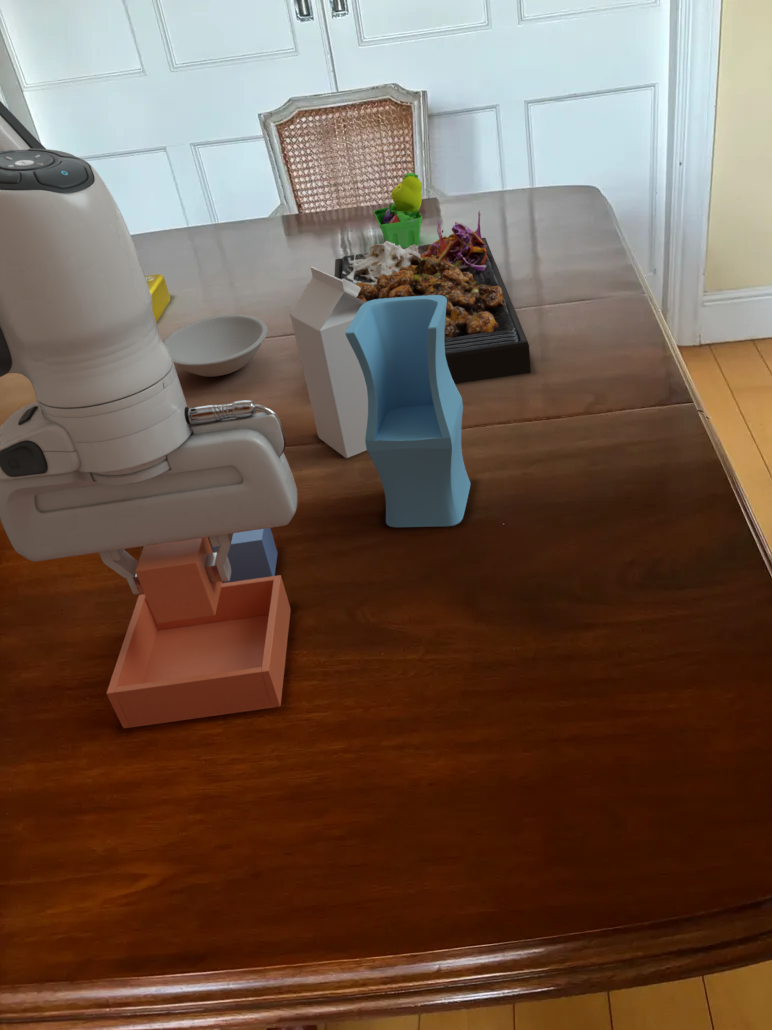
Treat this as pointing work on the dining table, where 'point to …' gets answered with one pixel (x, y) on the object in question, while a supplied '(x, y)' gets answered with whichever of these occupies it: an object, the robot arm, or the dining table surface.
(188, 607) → the terracotta block
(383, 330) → the blue wingback chair
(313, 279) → the milk carton
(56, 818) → the dining table surface
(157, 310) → the element tile
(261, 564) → the blue-grey block
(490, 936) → the dining table surface
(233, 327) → the dish
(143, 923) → the dining table surface
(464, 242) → the food platter
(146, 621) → the terracotta tray
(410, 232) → the fruit basket
